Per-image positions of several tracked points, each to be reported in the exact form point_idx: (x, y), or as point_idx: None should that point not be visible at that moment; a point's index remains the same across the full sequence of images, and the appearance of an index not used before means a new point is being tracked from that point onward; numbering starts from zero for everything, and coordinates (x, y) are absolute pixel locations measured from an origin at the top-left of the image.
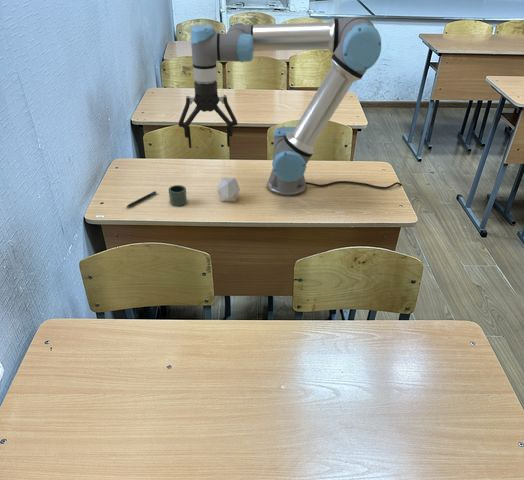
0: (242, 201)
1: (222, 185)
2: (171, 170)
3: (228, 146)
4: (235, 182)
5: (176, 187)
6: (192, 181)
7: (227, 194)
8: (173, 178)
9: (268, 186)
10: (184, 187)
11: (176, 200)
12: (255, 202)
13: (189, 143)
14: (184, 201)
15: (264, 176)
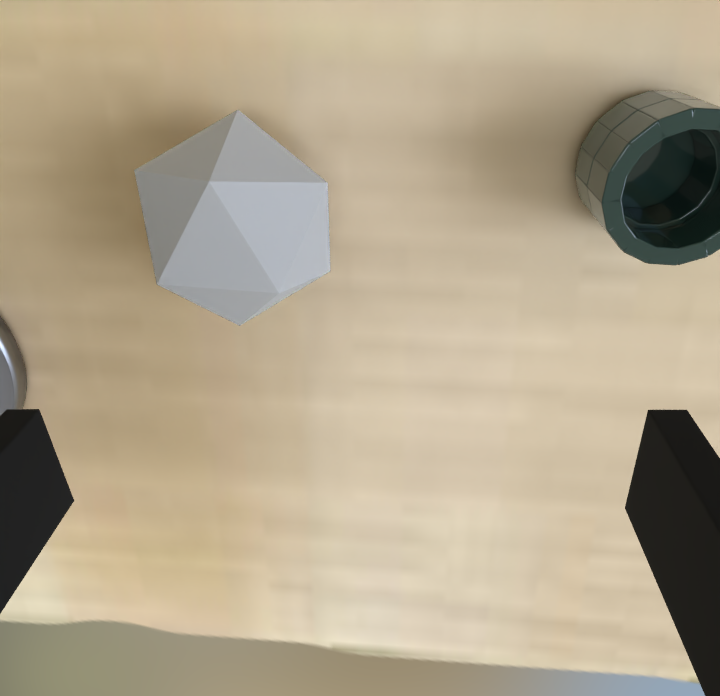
0: None
1: (270, 196)
2: (614, 574)
3: (23, 412)
4: (157, 234)
5: (676, 243)
6: (502, 452)
7: (237, 127)
8: (617, 492)
9: (1, 341)
10: (612, 219)
11: (686, 96)
12: (59, 148)
13: (706, 463)
14: (606, 120)
15: (73, 481)
